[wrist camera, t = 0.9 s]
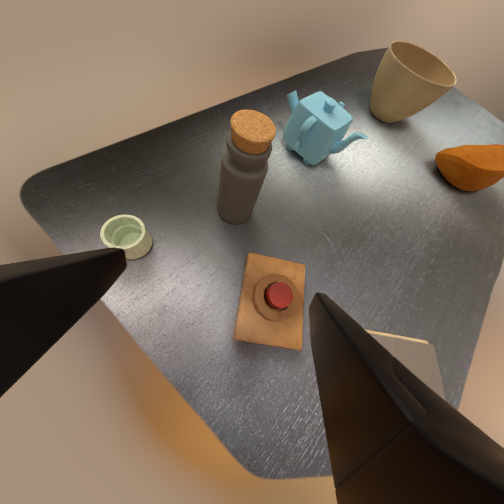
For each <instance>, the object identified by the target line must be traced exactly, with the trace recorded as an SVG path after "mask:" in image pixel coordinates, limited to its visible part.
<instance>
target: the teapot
mask: <svg viewBox="0 0 504 504" xmlns="http://www.w3.org/2000/svg"><path fill="white" fill-rule="evenodd" d="M287 98H288V102H289V105H290V109H291V113H292V115H291V117H290V119H289V121H288V123H287V125H286V127H285V130H284V134H283V139H284V140H285V141H286V142H287V143H288V144H287V148H288V149H289V150H295V151H296V152H297V153H298V154H299V155H300V156H302V157H303V162H304V163H305V164H306V165H310V164H312V165H316V164H317V163H319V162H320V161H322V160H323V159H324V158H326V157H327V156H328V155H329V154H335V153H339V152H340V151H342V150H344V149H345V148H346V147H347V146H348V145H349V144H351V143H352V142H353V141H355V140H357V139H368V137H367V136H365V135H364V134H362V133H359V132H356V133H353V134H351V135H350V136H349V137H348V138H346V139H345V140H344V141H341V140H342V139H343V137H344V135H345V134H346V132H347V130H348V128H349V126H350V124H351V122H352V120H353V117H352V116H351V115H350V114H349V113H348V112H347V111H346V110H344V109H343V107H344V105H345V104H344V103H342V102H339V103H338V104H337V102H336V101H335V100H334V99H332V98H330V97H328V96H327V95H326V94H324V93H323V92H321V91H320V92H317V93H315V94H312V95H310V96H308V97H306V98H304V99H302V100H300V101H298V97H297V93H296V91H294V92H292V93H290V94H288V95H287Z"/></svg>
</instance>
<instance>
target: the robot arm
mask: <svg viewBox="0 0 504 504" xmlns="http://www.w3.org/2000/svg"><path fill="white" fill-rule="evenodd" d="M126 266H127V263H126V254H125V251H124V250H123V249H120V248H116V247H112V248H106V249H100V250H93V251H87V252H81V253H74V254H68V255H62V256H55V257H49V258H43V259H36V260H31V261H24V262H18V263H11V264H5V265H0V397H1V396H2V395H3V394H4V393H5V392H6V391H7V390H8V389H9V388H11V387H12V385H14V383H16V382H17V381H18V380H19V379H20V378H21V376H23V375H24V374H25V372H27V371H28V369H30V368H31V367H32V366H33V365H34V364H35V363H36V362H37V361H38V360H39V359H40V358H41V357H42V356H43V355H44V354H45V353H46V352H47V351H48V350H49V349H50V348H51V347H52V346H53V345H54V344H55V343H56V342H57V341H58V340H59V339H60V338H61V337H62V336H63V335H64V334H65V333H66V332H67V331H68V330H69V329H70V328H71V327H72V326H73V325H74V324H75V323H76V322H77V321H78V320H79V319H80V318H81V317H82V316H83V315H84V314H85V313H86V312H87V311H88V310H89V309H90V308H91V307H92V306H93V305H94V304H95V303H96V302H97V301H98V300H99V299H100V298H101V297H102V296H103V295H104V294H105V293H106V292H107V291H108V290H109V288H110V287H111V286H112V285H113V284H114V282H115V281H116V280H117V279H118V278H119V276H120V275H121V274H122V273H123V272H124V270H125V269H126ZM309 319H310V338H311V347H312V353H313V359H314V365H315V371H316V377H317V383H318V389H319V395H320V401H321V407H322V413H323V419H324V425H325V431H326V437H327V443H328V449H329V455H330V461H331V467H332V473H333V479H334V485H335V488H336V498H337V503H338V504H504V448H503V447H501V446H500V445H499V444H497V443H496V442H495V441H494V440H492V439H491V438H490V437H489V436H488V435H486V434H485V433H484V432H483V431H481V430H480V429H479V428H478V427H477V426H475V425H474V424H473V423H472V422H471V421H469V420H468V419H467V418H466V417H464V416H463V415H462V414H461V413H460V412H458V411H457V410H456V409H455V408H454V407H452V406H451V405H450V404H449V403H448V402H446V401H445V400H444V399H443V398H442V397H440V396H439V395H438V394H437V393H436V392H434V391H433V390H432V389H431V388H430V387H428V386H427V385H426V384H425V383H424V382H422V381H421V380H420V379H419V378H418V377H417V376H416V375H414V374H413V373H412V372H411V371H410V370H409V369H408V368H406V367H405V366H404V365H403V364H402V363H401V362H400V361H399V360H398V359H397V358H395V357H394V356H393V357H392V354H391V353H390V352H389V351H388V350H387V349H385V348H384V347H383V346H382V345H381V344H380V343H379V342H378V341H377V340H376V339H374V338H373V337H372V336H371V335H370V334H369V333H368V332H367V331H366V330H364V329H363V328H362V327H361V326H360V325H359V324H358V323H357V322H356V321H355V320H353V319H352V318H351V317H350V316H349V315H348V314H347V313H346V312H345V311H344V310H342V309H341V308H340V307H339V306H338V305H337V304H336V303H335V302H334V301H332V300H331V299H330V298H329V297H328V296H327V295H326V294H323V293H318V292H317V293H316V294H315V295H314V297H313V300H312V302H311V305H310V307H309Z"/></svg>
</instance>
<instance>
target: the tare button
mask: <svg viewBox="0 0 504 504" xmlns="http://www.w3.org/2000/svg"><path fill="white" fill-rule="evenodd" d="M265 298H266V301H267V303H268V305H269V306H271V307H272V308H274V309H281V308H284V307H287V306H289V305H290V304H291V302H292V299H293V293H292V290H291V288H290V287H289V286H288V285H287V284H285V283H283V282H276V283H274V284H273V285H271V286H270V287H269V288H268V289H267V290H266V293H265Z"/></svg>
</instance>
